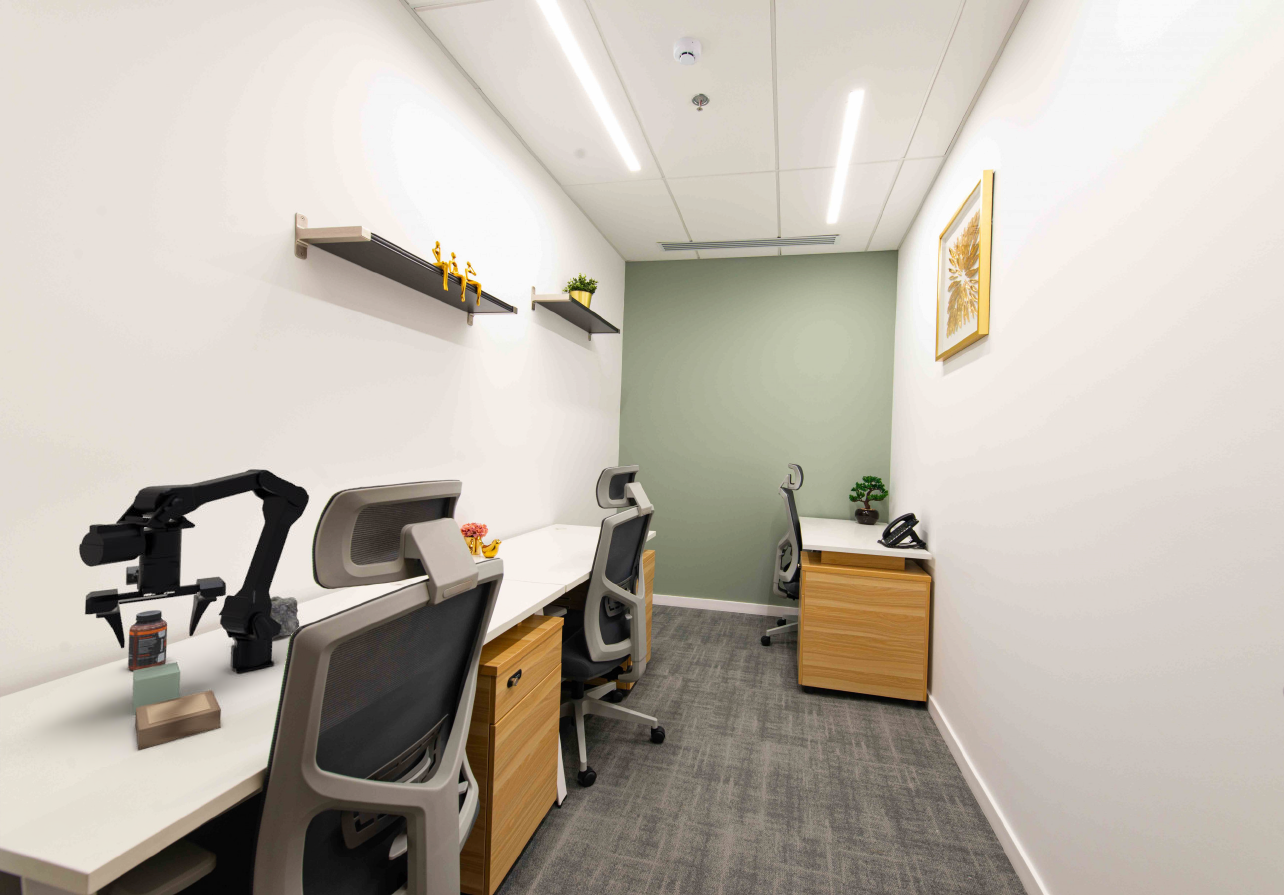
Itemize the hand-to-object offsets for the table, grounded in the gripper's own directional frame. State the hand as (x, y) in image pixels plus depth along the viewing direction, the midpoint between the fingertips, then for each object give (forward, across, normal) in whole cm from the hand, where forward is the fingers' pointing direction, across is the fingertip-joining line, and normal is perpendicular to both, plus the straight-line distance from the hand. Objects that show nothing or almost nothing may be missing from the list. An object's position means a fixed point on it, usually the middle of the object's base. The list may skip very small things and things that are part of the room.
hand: (157, 641), depth 98 cm
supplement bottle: (+12, 0, -23) cm, 26 cm away
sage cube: (+11, 0, 0) cm, 11 cm away
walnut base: (+11, -2, +13) cm, 17 cm away
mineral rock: (+12, -22, -27) cm, 37 cm away
